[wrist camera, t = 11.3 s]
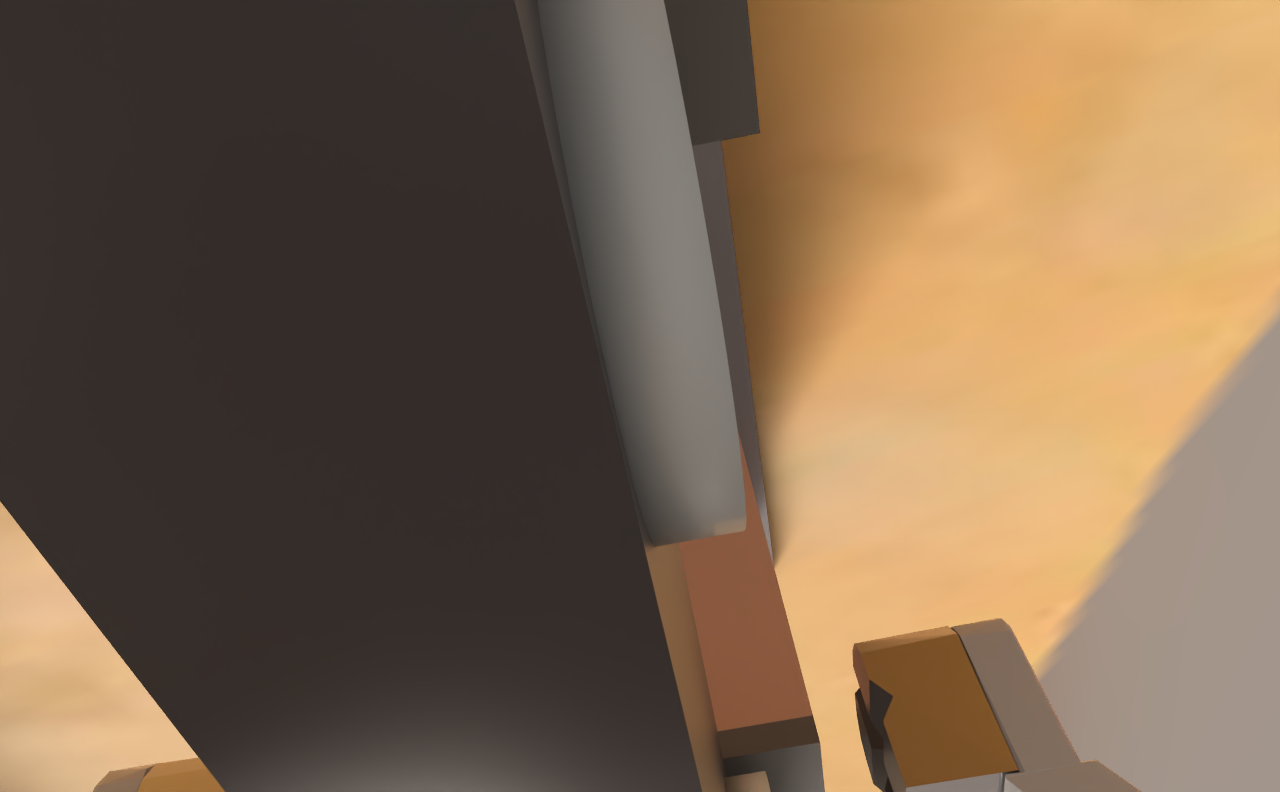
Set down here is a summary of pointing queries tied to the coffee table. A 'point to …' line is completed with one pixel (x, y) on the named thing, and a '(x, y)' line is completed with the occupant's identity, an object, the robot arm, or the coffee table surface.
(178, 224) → the glasses
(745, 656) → the stand
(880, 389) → the coffee table surface
